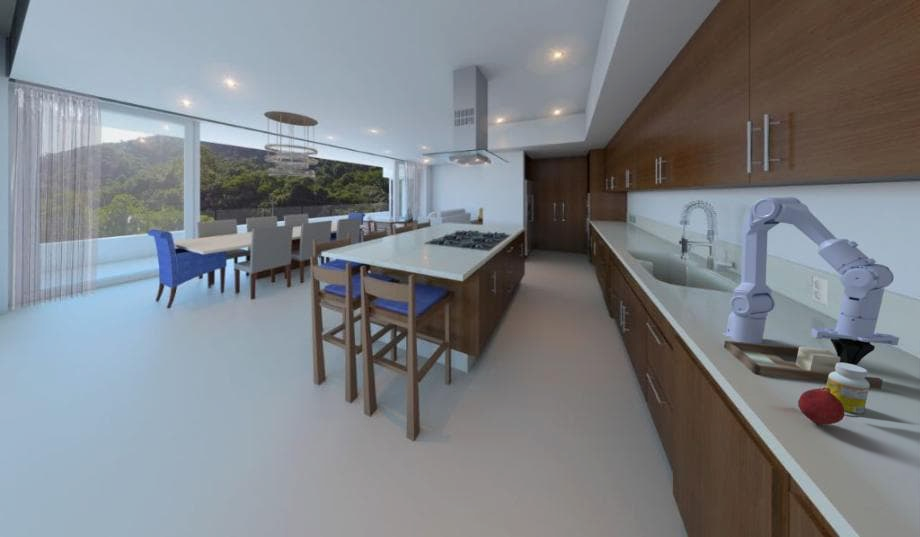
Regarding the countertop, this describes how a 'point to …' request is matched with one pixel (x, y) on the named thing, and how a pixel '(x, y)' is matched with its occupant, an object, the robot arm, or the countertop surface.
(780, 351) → the wooden tray
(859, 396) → the supplement bottle
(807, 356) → the cream cube
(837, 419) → the red oval lump
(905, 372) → the countertop surface
